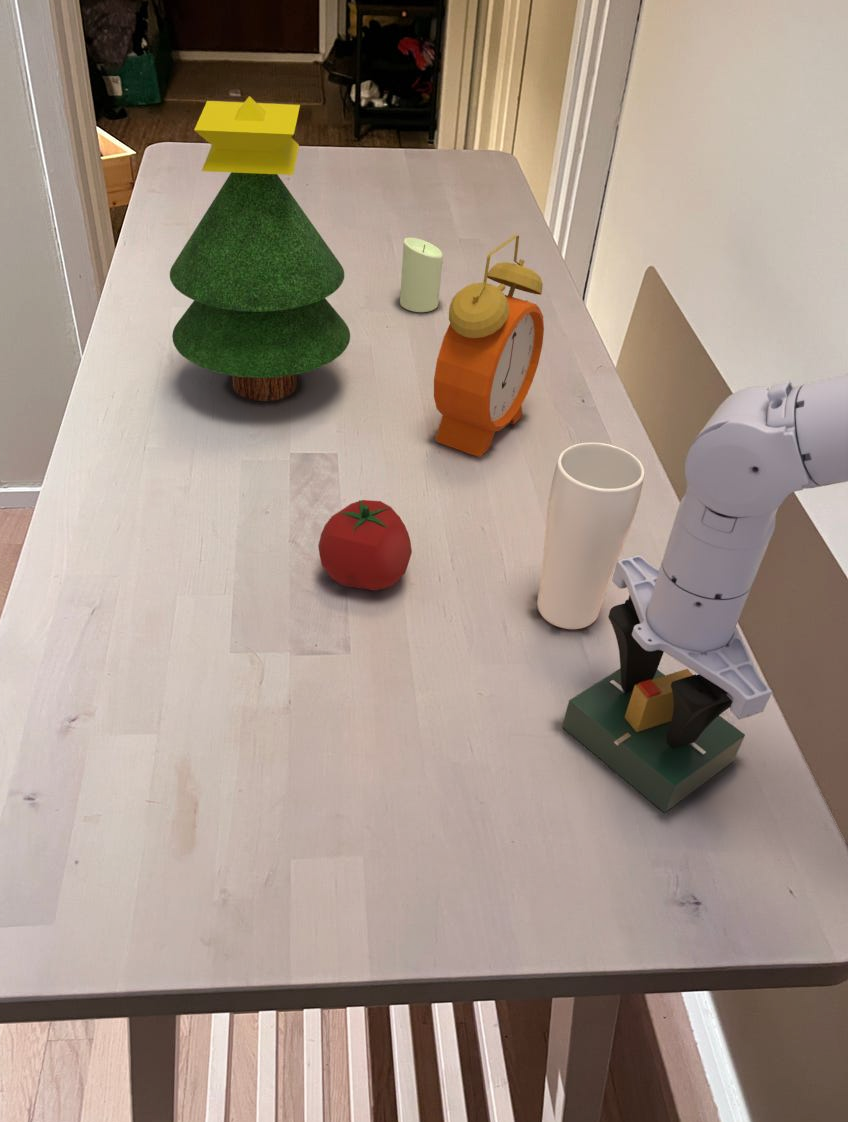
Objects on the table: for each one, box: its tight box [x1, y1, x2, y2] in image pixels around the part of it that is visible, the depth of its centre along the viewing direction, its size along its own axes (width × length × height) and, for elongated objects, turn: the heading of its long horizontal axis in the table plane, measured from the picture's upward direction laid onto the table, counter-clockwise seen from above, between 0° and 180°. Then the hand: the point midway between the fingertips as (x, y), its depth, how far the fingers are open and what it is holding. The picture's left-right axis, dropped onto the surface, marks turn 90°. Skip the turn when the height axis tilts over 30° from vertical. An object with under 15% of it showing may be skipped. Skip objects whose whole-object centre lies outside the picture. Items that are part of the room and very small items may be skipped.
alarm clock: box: [433, 234, 545, 458], centre depth 100 cm, size 13×6×20 cm, turn 148°
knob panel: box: [561, 668, 746, 813], centre depth 74 cm, size 10×9×3 cm
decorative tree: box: [169, 95, 351, 402], centre depth 102 cm, size 19×19×30 cm
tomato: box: [317, 499, 413, 591], centre depth 86 cm, size 8×8×7 cm
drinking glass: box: [536, 442, 646, 630], centre depth 81 cm, size 7×7×15 cm
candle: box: [399, 237, 444, 313], centre depth 126 cm, size 5×5×8 cm
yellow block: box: [625, 668, 694, 732], centre depth 72 cm, size 5×2×4 cm, turn 113°
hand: (657, 713), depth 73 cm, fingers open, 5 cm apart
